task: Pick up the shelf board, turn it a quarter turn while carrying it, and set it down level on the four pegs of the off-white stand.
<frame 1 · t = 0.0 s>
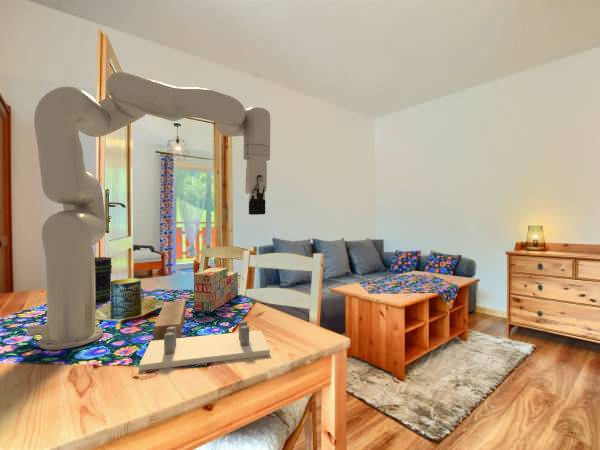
hand: (256, 214, 86), 31 cm above the table, tool pointing down, fingers open, 9 cm apart
shelf board: (171, 325, 85), on the table
stack of blocks: (217, 303, 108), on the table
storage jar: (95, 301, 109), on the table
peg stand: (208, 350, 69), on the table
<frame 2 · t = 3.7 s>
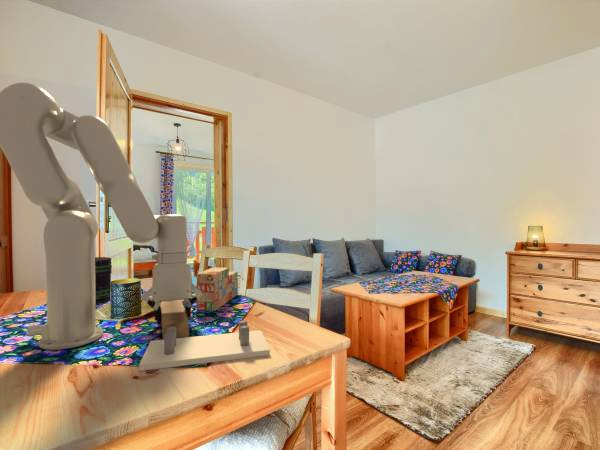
hand: (173, 321, 86), 1 cm above the table, tool pointing down, fingers closed on shelf board, 6 cm apart
shelf board: (173, 324, 85), on the table, touching gripper
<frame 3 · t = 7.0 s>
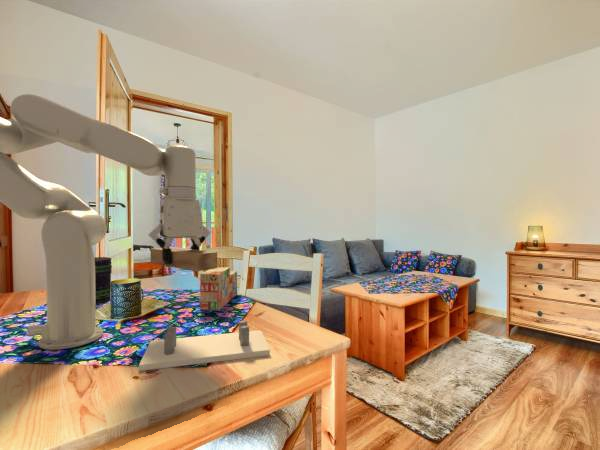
hand: (181, 261, 80), 18 cm above the table, tool pointing down, fingers closed on shelf board, 6 cm apart
shelf board: (182, 265, 80), point 18 cm above the table, touching gripper
when the fingers open (7 cm above the table, at t = 10.4 s): shelf board drops 1 cm, resting on peg stand.
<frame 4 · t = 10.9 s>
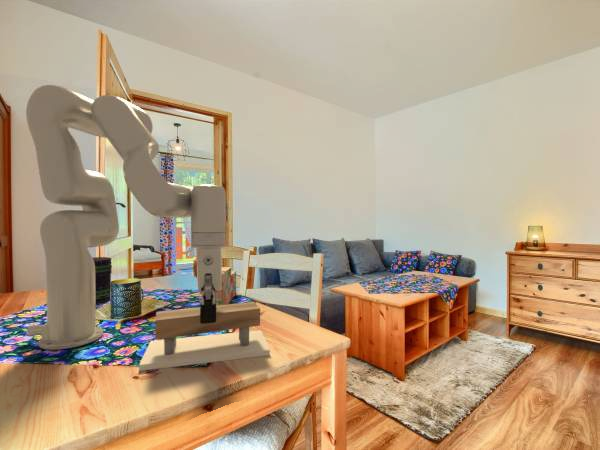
hand: (208, 315, 69), 8 cm above the table, tool pointing down, fingers open, 9 cm apart
shelf board: (209, 327, 69), point 5 cm above the table, touching peg stand
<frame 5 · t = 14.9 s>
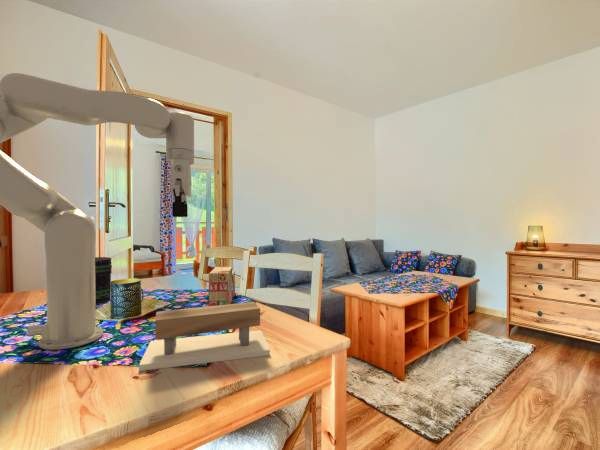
hand: (180, 216, 88), 30 cm above the table, tool pointing down, fingers open, 9 cm apart
at the end: shelf board 0.3 cm off-centre on the peg stand, point 5.2 cm above the peg stand's base; shelf board tilted 0°; the gripper is holding nothing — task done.
